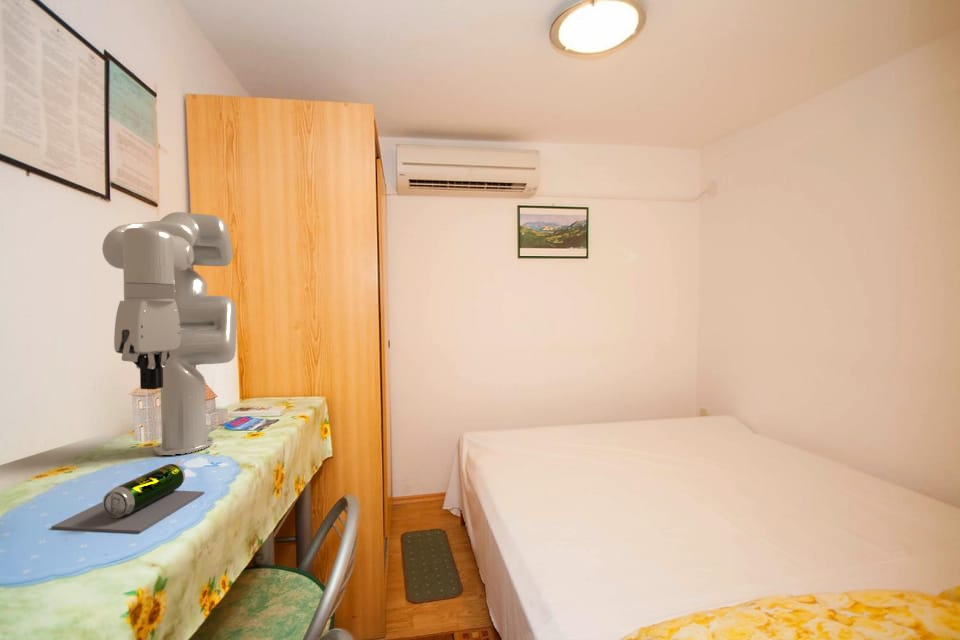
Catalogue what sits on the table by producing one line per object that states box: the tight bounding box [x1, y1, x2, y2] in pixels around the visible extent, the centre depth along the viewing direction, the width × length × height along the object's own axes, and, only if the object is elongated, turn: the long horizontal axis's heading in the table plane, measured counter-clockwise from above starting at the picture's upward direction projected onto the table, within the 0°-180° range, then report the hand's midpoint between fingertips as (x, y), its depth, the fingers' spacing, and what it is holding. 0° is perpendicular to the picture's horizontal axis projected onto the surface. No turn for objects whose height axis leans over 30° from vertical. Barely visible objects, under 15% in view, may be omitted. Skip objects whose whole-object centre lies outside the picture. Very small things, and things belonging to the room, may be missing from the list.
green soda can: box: [102, 463, 186, 518], centre depth 75 cm, size 5×5×12 cm
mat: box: [51, 489, 205, 534], centre depth 73 cm, size 14×16×1 cm
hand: (151, 388), depth 76 cm, fingers closed
